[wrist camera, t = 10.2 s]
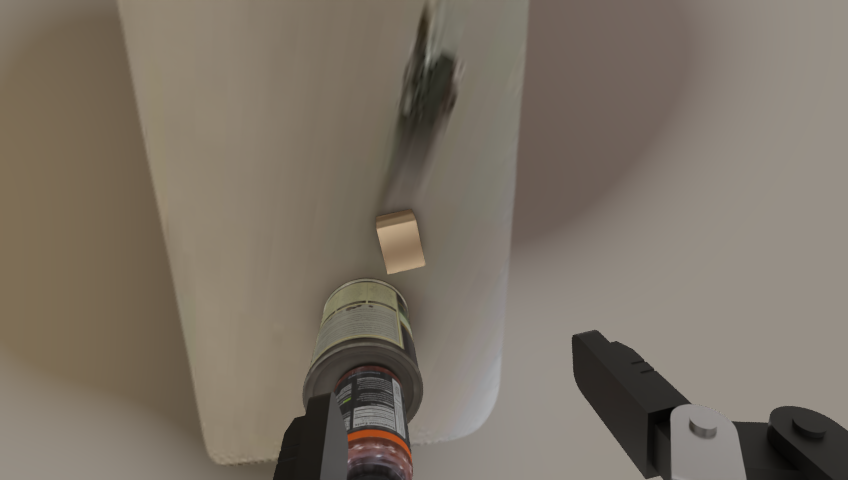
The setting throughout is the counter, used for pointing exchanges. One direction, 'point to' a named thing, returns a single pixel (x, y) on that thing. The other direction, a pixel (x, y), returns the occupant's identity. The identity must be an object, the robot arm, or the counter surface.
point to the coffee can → (365, 340)
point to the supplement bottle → (375, 424)
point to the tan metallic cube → (400, 241)
